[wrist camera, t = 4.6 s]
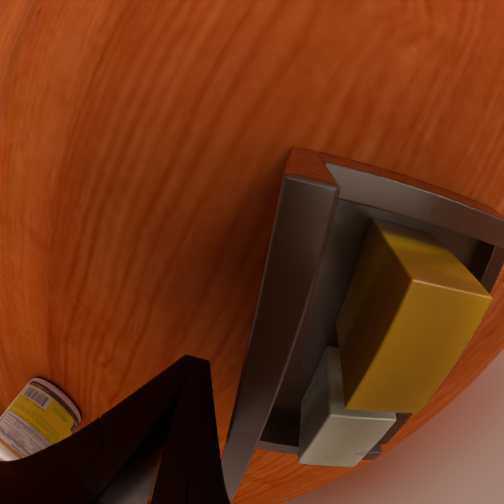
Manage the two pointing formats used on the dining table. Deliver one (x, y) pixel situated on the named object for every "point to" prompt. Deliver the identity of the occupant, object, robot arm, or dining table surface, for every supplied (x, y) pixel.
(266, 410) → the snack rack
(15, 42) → the dining table surface
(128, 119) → the dining table surface
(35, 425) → the supplement bottle
